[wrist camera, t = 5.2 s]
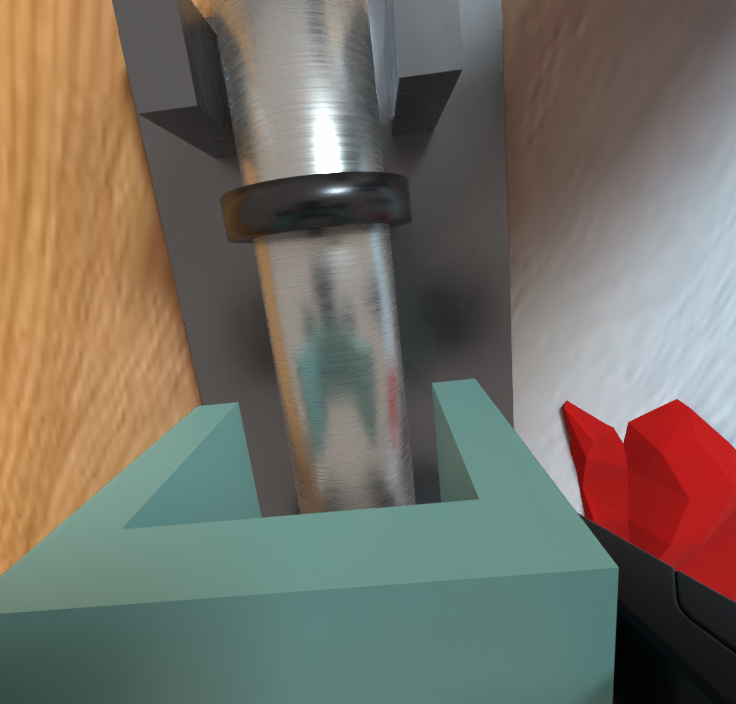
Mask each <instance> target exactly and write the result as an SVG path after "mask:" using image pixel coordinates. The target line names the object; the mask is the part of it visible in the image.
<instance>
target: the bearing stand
mask: <svg viewBox="0 0 736 704" xmlns="http://www.w3.org/2000/svg"><path fill="white" fill-rule="evenodd" d="M112 2H113V7H114V11H115V16H116V20H117V25H118V29H119V31H118V32H119V37H120V41H121V46H122V50H123V55H124V59H125V64H126V68H127V72H128V77H129V81H130V86H131V90H132V95H133V99H134V103H135V108H136V112H137V117H138V121H139V126H140V130H141V134H142V139H143V143H144V148H145V152H146V157H147V161H148V165H149V170H150V174H151V179H152V183H153V188H154V192H155V196H156V201H157V205H158V210H159V214H160V219H161V223H162V227H163V232H164V236H165V241H166V245H167V250H168V254H169V258H170V263H171V267H172V272H173V276H174V281H175V285H176V289H177V294H178V298H179V303H180V307H181V312H182V316H183V320H184V325H185V329H186V334H187V338H188V343H189V347H190V351H191V356H192V360H193V365H194V369H195V374H196V378H197V382H198V387H199V391H200V396H201V400H202V405H203V406H204V405H214V404H224V403H234V402H238V403H239V408H240V413H241V418H242V423H243V428H244V433H245V438H246V443H247V448H248V453H249V457H250V462H251V467H252V472H253V477H254V482H255V487H256V492H257V497H258V502H259V506H260V511H261V516H262V518H265V517H276V516H288V515H300V508H299V502H298V497H297V491H296V485H295V479H294V474H293V468H292V462H291V457H290V451H289V445H288V440H287V434H286V428H285V422H284V417H283V411H282V405H281V400H280V394H279V388H278V383H277V377H276V371H275V365H274V360H273V354H272V348H271V343H270V337H269V331H268V326H267V320H266V314H265V308H264V303H263V297H262V291H261V286H260V280H259V274H258V269H257V263H256V257H255V252H254V246H253V243H229V242H228V239H227V234H226V229H225V224H224V218H223V213H222V208H221V202H220V197H221V196H222V195H223V194H225V193H227V192H229V191H231V190H234V189H237V188H240V187H243V183H242V177H241V172H240V166H239V160H238V155H237V149H236V143H235V138H234V132H233V126H232V120H231V115H230V109H229V103H228V98H227V92H226V86H225V81H224V75H223V69H222V64H221V58H220V52H219V46H218V41H217V35H216V29H215V24H214V18H213V17H209V18H204V17H203V16H202V15H201V13H200V12H199V10H198V9H197V8H196V6H195V5H194V4H193V2H192V1H191V0H112ZM368 11H369V21H370V32H371V42H372V52H373V63H374V73H375V84H376V94H377V105H378V115H379V125H380V136H381V146H382V157H383V167H384V172H387V173H395V174H400V175H403V176H405V177H407V178H408V180H409V192H410V204H411V216H412V222H410V223H408V224H404V225H400V226H395V227H390V228H389V230H390V240H391V251H392V261H393V271H394V282H395V292H396V303H397V313H398V324H399V334H400V344H401V355H402V365H403V376H404V386H405V397H406V407H407V417H408V428H409V438H410V449H411V459H412V469H413V480H414V490H415V501H416V505H419V504H431V503H441V495H440V482H439V470H438V457H437V444H436V431H435V418H434V406H433V393H432V383H436V382H446V381H456V380H466V379H476V381H477V382H478V383H479V384H480V386H481V387H482V388H483V390H484V391H485V392H486V394H487V395H488V396H489V398H490V399H491V400H492V402H493V403H494V404H495V406H496V407H497V408H498V409H499V411H500V412H501V413H502V415H503V416H504V417H505V419H506V420H507V421H508V423H509V424H510V425H511V427H512V428H513V429H514V424H513V388H512V352H511V316H510V280H509V245H508V209H507V173H506V137H505V101H504V65H503V30H502V0H368Z"/></svg>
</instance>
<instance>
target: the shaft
mask: <svg viewBox="0 0 736 704" xmlns="http://www.w3.org/2000/svg"><path fill="white" fill-rule="evenodd" d="M210 1H211V7H212V12H213V18H214V24H215V29H216V35H217V41H218V46H219V52H220V58H221V64H222V69H223V75H224V81H225V86H226V92H227V98H228V103H229V109H230V115H231V120H232V126H233V132H234V138H235V143H236V149H237V155H238V160H239V166H240V172H241V177H242V183H243V187H240V188H237V189H234V190H231V191H229V192H227V193H225V194H223V195H222V196H221V197H220V202H221V208H222V213H223V218H224V224H225V229H226V234H227V239H228V242H229V243H253V246H254V252H255V257H256V263H257V269H258V274H259V280H260V286H261V291H262V297H263V303H264V308H265V314H266V320H267V326H268V331H269V337H270V343H271V348H272V354H273V360H274V365H275V371H276V377H277V383H278V388H279V394H280V400H281V405H282V411H283V417H284V422H285V428H286V434H287V440H288V445H289V451H290V457H291V462H292V468H293V474H294V479H295V485H296V491H297V497H298V502H299V508H300V514H312V513H324V512H336V511H348V510H359V509H371V508H383V507H395V506H407V505H416V501H415V490H414V480H413V469H412V459H411V449H410V438H409V428H408V417H407V407H406V397H405V386H404V376H403V365H402V355H401V344H400V334H399V324H398V313H397V303H396V292H395V282H394V271H393V261H392V251H391V240H390V230H389V228H390V227H395V226H400V225H404V224H408V223H410V222H412V216H411V204H410V192H409V180H408V178H407V177H405V176H403V175H400V174H395V173H387V172H384V167H383V157H382V146H381V136H380V125H379V115H378V105H377V94H376V84H375V73H374V63H373V52H372V42H371V32H370V21H369V11H368V0H210Z"/></svg>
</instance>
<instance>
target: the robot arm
mask: <svg viewBox="0 0 736 704" xmlns="http://www.w3.org/2000/svg"><path fill="white" fill-rule="evenodd" d="M578 515H579V516H580V517H581V519H582V520H583V521H584V523H585V524H586V525H587V527H588V528H589V529H590V530H591V532H592V533H593V534H594V536H595V537H596V538H597V540H598V541H599V542H600V544H601V545H602V546H603V548H604V549H605V550H606V551H607V553H608V554H609V555H610V557H611V558H612V559H613V561H614V562H615V563H616V565H617V566H618V567H619V573H618V595H617V617H616V638H615V660H614V682H613V704H736V602H735V601H733V600H731V599H729V598H728V597H726V596H724V595H722V594H720V593H718V592H717V591H715V590H713V589H711V588H709V587H708V586H706V585H704V584H702V583H700V582H699V581H697V580H695V579H693V578H692V577H690V576H688V575H686V574H685V573H683V572H681V571H676V572H675V569H674V568H673V567H672V566H670V565H668V564H667V563H665V562H663V561H661V560H660V559H658V558H656V557H654V556H653V555H651V554H649V553H647V552H646V551H644V550H642V549H640V548H639V547H637V546H635V545H633V544H632V543H630V542H628V541H626V540H624V539H623V538H621V537H619V536H617V535H616V534H614V533H612V532H610V531H609V530H607V529H605V528H603V527H602V526H600V525H598V524H596V523H595V522H593V521H591V520H589V519H588V518H586V517H584V516H582V515H581V514H579V513H578Z"/></svg>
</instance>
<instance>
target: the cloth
mask: <svg viewBox="0 0 736 704" xmlns="http://www.w3.org/2000/svg"><path fill="white" fill-rule="evenodd" d="M563 414H564V418H565V422H566V426H567V430H568V432H569V434H570V439H571V455H572V458H573V461H574V464H575V467H576V470H577V475H578V481H579V486H580V492H581V497H582V502H583V507H584V512H585V517H586V518H588V519H589V520H591V521H593V522H595V523H596V524H598V525H600V526H602V527H603V528H605V529H607V530H609V531H610V532H612V533H614V534H616V535H617V536H619V537H621V538H623V539H624V540H626V541H628V542H630V543H632V544H633V545H635V546H637V547H639V548H640V549H642V550H644V551H646V552H647V553H649V554H651V555H653V556H654V557H656V558H658V559H660V560H661V561H663V562H665V563H667V564H668V565H670V566H672V567H673V568H674V569H675V572H676V571H681V572H683V573H685V574H686V575H688V576H690V577H692V578H693V579H695V580H697V581H699V582H700V583H702V584H704V585H706V586H708V587H709V588H711V589H713V590H715V591H717V592H718V593H720V594H722V595H724V596H726V597H728V598H729V599H731V600H733V601H735V602H736V449H735V448H734V447H733V446H732V445H731V444H730V443H729V442H728V441H727V440H725V439H724V438H723V437H722V436H721V435H720V434H719V433H718V432H716V431H715V430H714V429H713V428H712V427H711V426H710V425H709V424H707V423H706V422H705V421H704V420H703V419H702V418H701V417H699V416H698V415H697V414H696V413H695V412H694V411H693V410H692V409H690V408H689V407H688V406H686V405H685V404H683V403H682V402H680V401H679V400H678V399H676V400H674V401H672V402H670V403H667V404H665V405H663V406H661V407H659V408H657V409H655V410H653V411H650V412H648V413H646V414H644V415H642V416H640V417H638V418H636V419H634V420H632V421H630V422H628V426H627V430H626V435H625V439H624V444H623V442H622V441H621V439H620V437H619V436H618V434H617V433H616V431H615V429H614V428H613V427H611V426H609V425H607V424H605V423H603V422H602V421H600V420H598V419H597V418H595V417H593V416H592V415H590V414H588V413H587V412H585V411H583V410H582V409H580V408H578V407H577V406H575V405H573V404H572V403H570V402H568V401H566V403H565V405H564V408H563Z"/></svg>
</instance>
